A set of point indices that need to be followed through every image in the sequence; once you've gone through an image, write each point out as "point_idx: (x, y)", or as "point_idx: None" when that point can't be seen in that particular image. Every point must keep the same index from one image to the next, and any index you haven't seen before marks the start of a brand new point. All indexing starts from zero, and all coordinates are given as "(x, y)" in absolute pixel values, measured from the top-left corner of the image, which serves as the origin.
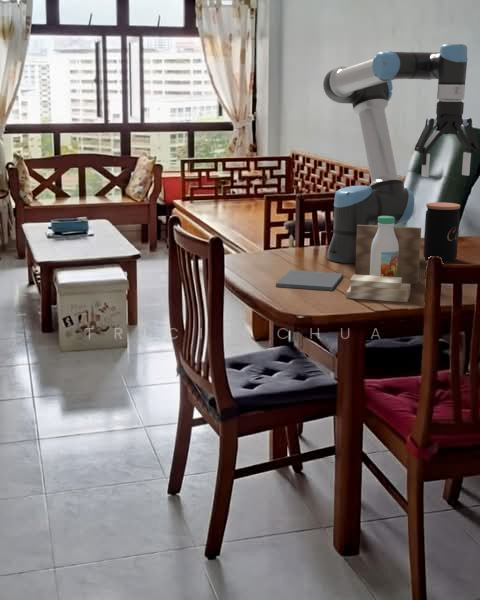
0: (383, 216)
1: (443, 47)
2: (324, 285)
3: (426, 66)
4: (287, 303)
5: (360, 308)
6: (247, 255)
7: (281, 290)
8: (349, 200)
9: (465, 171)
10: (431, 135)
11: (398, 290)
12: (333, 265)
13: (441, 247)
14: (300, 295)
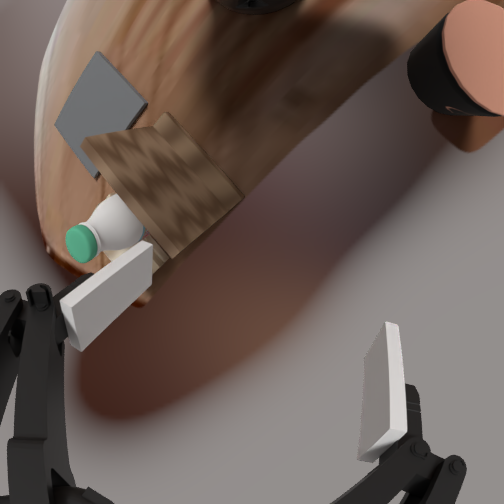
0: (73, 240)
1: None
2: (89, 164)
3: None
4: (47, 202)
5: (95, 263)
6: None
7: (56, 145)
8: None
9: (370, 360)
10: (16, 414)
11: None
12: (190, 11)
13: (427, 98)
14: (63, 178)
